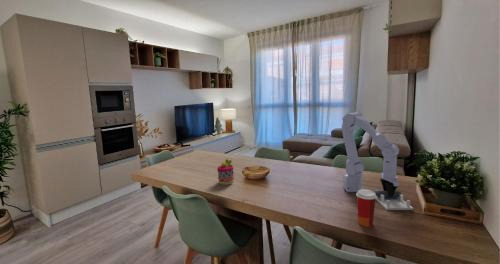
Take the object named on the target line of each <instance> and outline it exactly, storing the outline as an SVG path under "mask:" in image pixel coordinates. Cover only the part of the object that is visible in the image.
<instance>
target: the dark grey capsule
mask: <svg viewBox="0 0 500 264" xmlns="http://www.w3.org/2000/svg"><path fill="white" fill-rule="evenodd" d="M399 194H402V192H401V191H399V190H397V189H396V190H395V193H394V195H393V197H389V196H388V191H384V190H378V191H377V192H376V196H377V197H379V198H380V195H384V198H399Z"/></svg>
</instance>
